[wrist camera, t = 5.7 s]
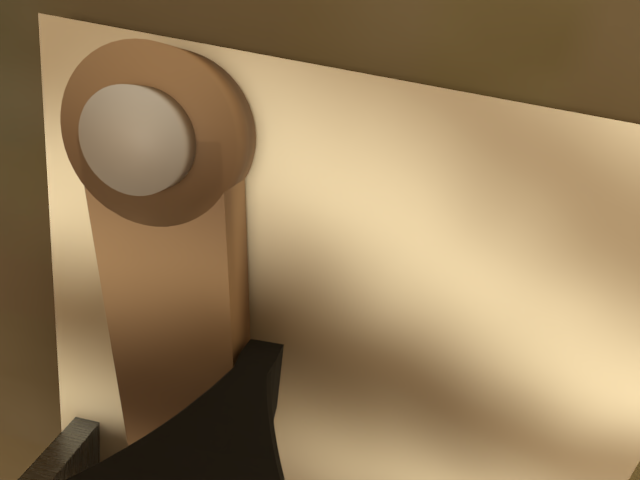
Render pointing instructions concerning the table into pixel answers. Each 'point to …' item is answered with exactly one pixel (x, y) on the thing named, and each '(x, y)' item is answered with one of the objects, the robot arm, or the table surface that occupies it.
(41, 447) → the table surface
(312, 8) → the table surface
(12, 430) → the table surface
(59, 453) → the keeper
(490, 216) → the latch board
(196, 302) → the link
